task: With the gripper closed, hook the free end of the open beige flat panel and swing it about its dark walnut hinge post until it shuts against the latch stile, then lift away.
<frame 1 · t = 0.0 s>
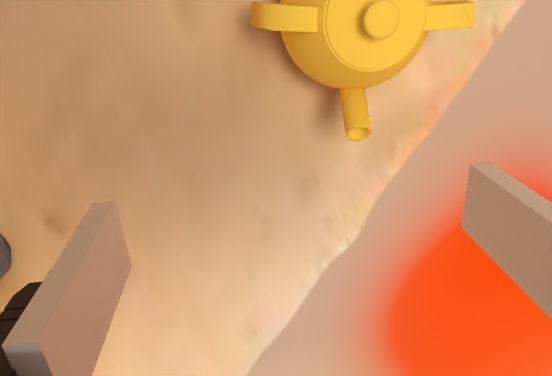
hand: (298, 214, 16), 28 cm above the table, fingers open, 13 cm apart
teapot: (343, 12, 39), on the table
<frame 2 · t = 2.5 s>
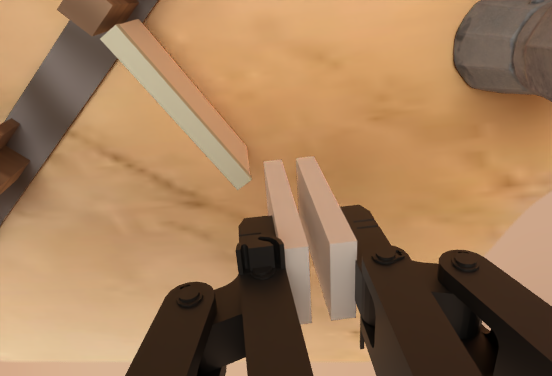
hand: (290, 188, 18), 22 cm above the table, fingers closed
fence: (119, 3, 34), on the table
beige flat panel: (187, 102, 33), point 5 cm above the table, hinge at 78.0°
moka pot: (501, 42, 39), on the table
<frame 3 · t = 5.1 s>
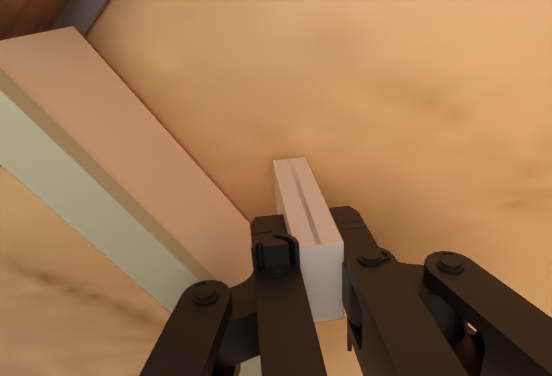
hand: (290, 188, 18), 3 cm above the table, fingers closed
beige flat panel: (174, 209, 15), point 5 cm above the table, hinge at 77.3°, touching gripper
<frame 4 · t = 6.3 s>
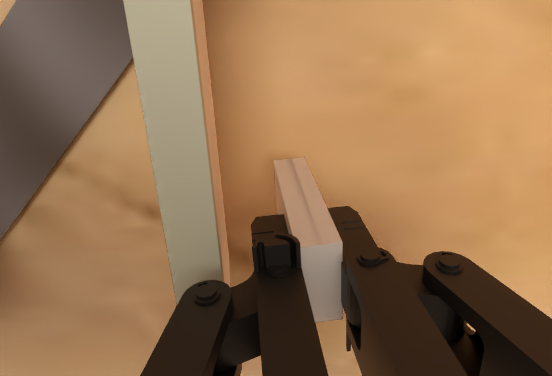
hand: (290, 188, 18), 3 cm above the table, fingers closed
beige flat panel: (196, 159, 15), point 5 cm above the table, hinge at 43.7°, touching gripper
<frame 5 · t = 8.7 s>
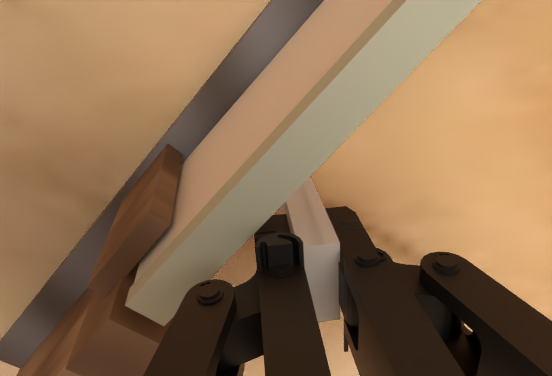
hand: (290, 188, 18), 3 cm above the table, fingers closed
beige flat panel: (281, 110, 15), point 5 cm above the table, hinge at -1.2°, touching gripper
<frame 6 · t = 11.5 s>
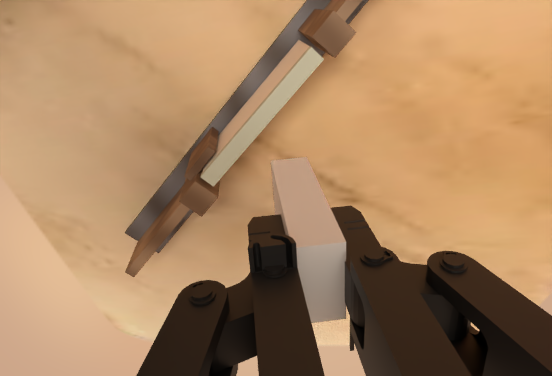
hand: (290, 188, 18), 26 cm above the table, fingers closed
fence: (314, 28, 40), on the table
beige flat panel: (257, 109, 38), point 5 cm above the table, hinge at -1.3°
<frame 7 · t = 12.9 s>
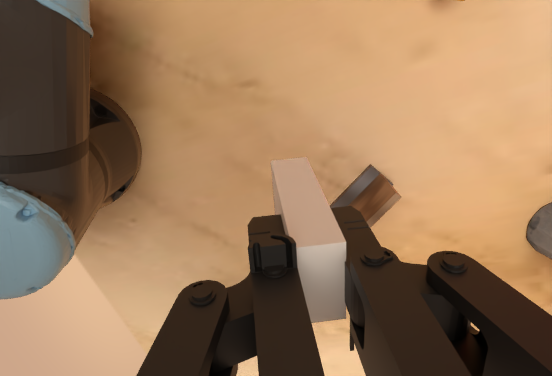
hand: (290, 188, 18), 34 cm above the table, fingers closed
fence: (337, 217, 59), on the table
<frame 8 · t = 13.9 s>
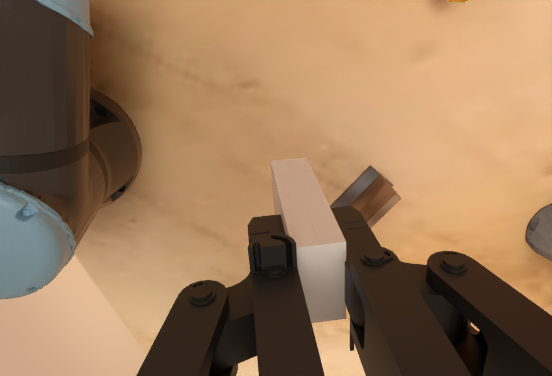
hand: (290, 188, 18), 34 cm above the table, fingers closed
fence: (337, 218, 59), on the table
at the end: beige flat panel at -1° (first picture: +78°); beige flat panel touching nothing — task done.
